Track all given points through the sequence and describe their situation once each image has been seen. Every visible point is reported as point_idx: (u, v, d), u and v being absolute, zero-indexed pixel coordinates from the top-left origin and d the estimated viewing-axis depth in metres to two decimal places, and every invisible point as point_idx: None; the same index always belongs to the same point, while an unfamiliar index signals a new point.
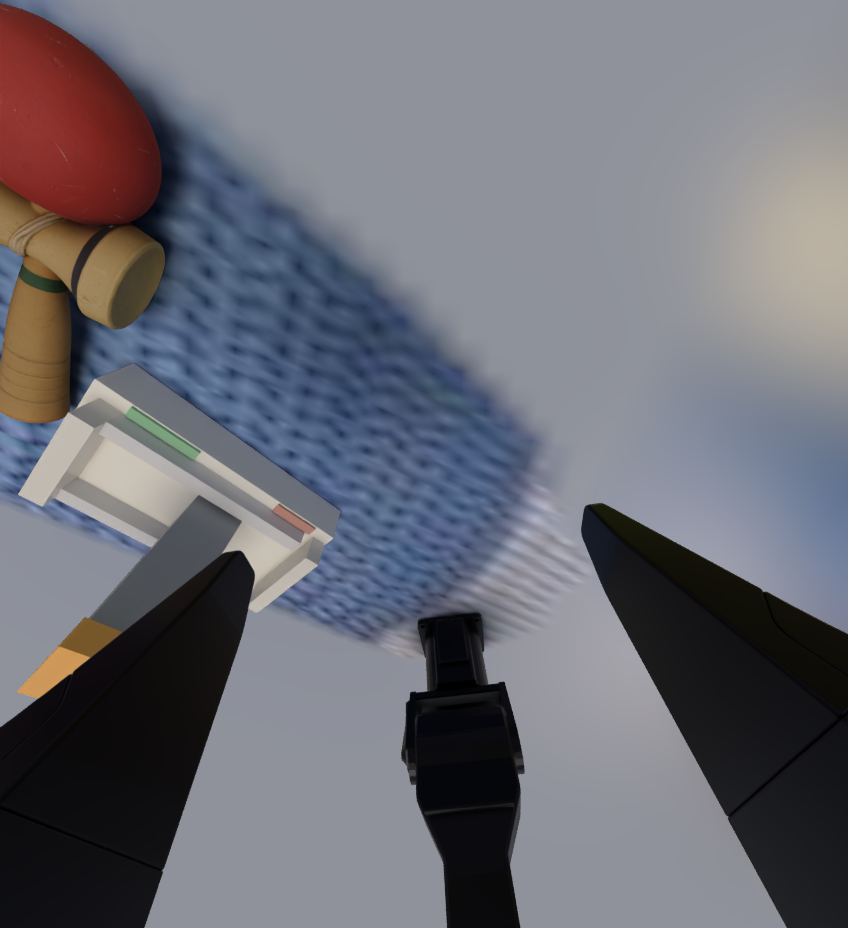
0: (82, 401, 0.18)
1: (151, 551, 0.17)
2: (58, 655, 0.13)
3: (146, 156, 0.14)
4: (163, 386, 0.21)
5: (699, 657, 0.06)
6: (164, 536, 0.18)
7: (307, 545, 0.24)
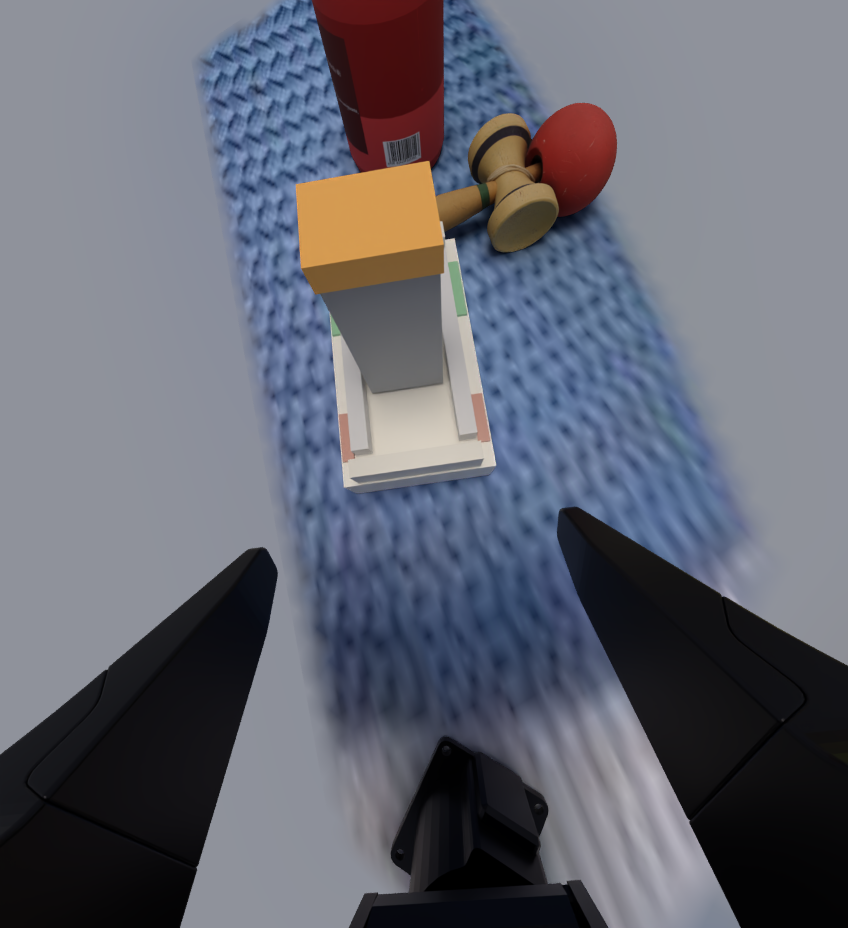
0: None
1: None
2: (410, 168, 0.11)
3: (600, 186, 0.23)
4: None
5: (660, 662, 0.06)
6: None
7: None
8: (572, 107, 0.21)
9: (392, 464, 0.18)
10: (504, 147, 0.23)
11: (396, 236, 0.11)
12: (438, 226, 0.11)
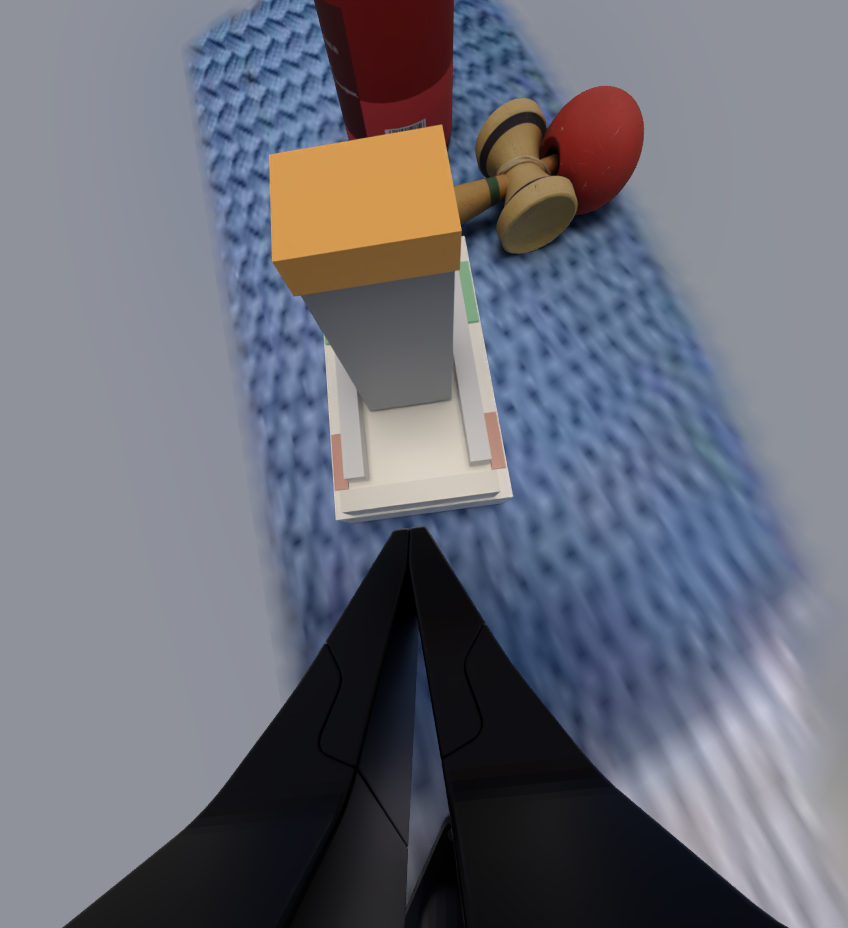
0: None
1: None
2: (417, 134, 0.09)
3: (624, 180, 0.21)
4: None
5: None
6: None
7: None
8: (594, 90, 0.19)
9: (392, 497, 0.15)
10: (517, 136, 0.20)
11: (398, 220, 0.08)
12: (454, 207, 0.08)
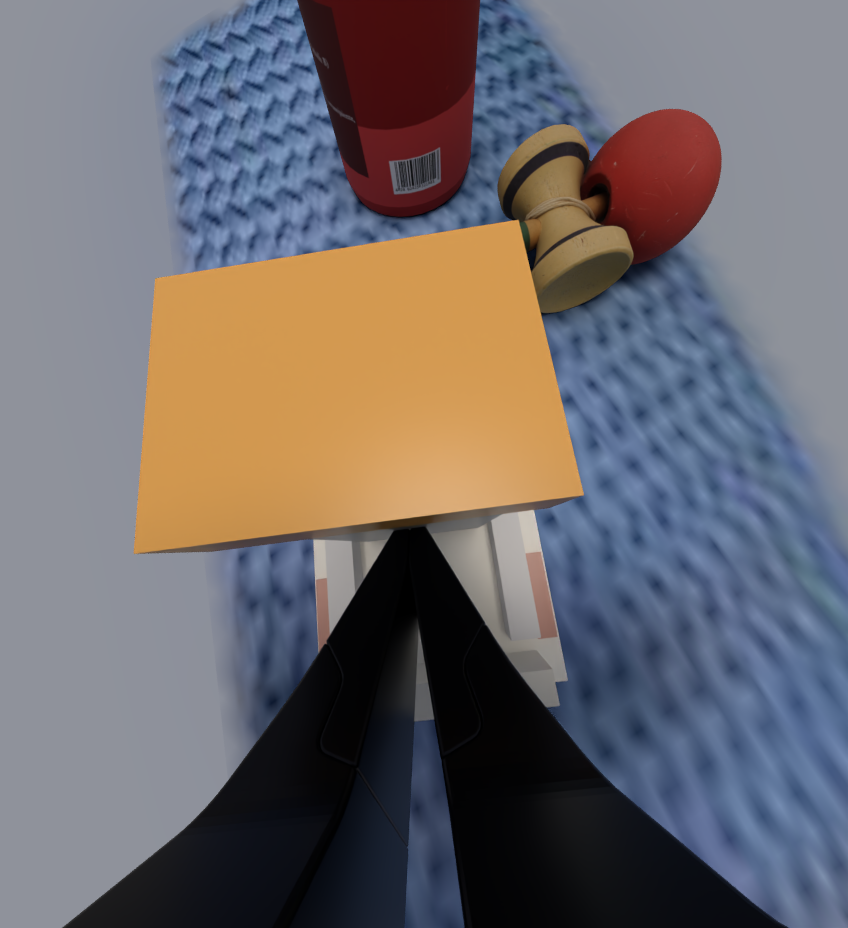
0: None
1: None
2: (466, 241, 0.04)
3: (692, 227, 0.16)
4: None
5: None
6: None
7: (528, 656, 0.12)
8: (660, 115, 0.14)
9: None
10: (554, 172, 0.16)
11: (430, 456, 0.04)
12: (560, 426, 0.04)
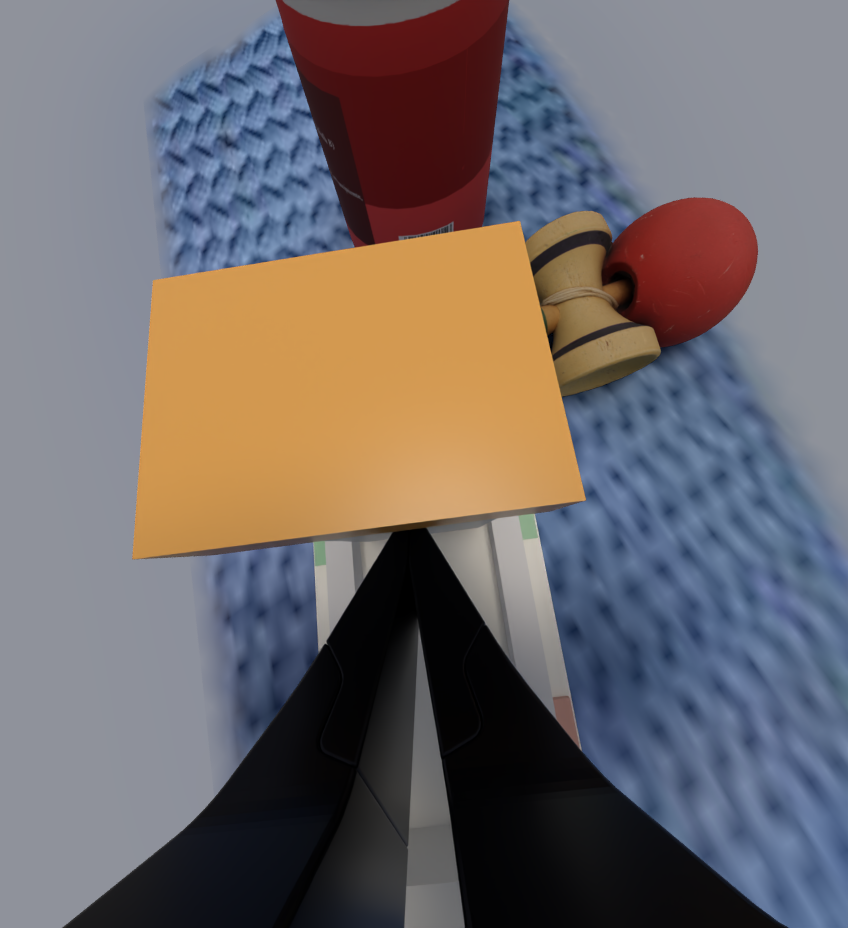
0: None
1: None
2: (468, 242, 0.04)
3: (723, 318, 0.15)
4: None
5: None
6: None
7: None
8: (692, 208, 0.13)
9: (419, 912, 0.09)
10: (574, 261, 0.15)
11: (431, 461, 0.04)
12: (561, 430, 0.04)
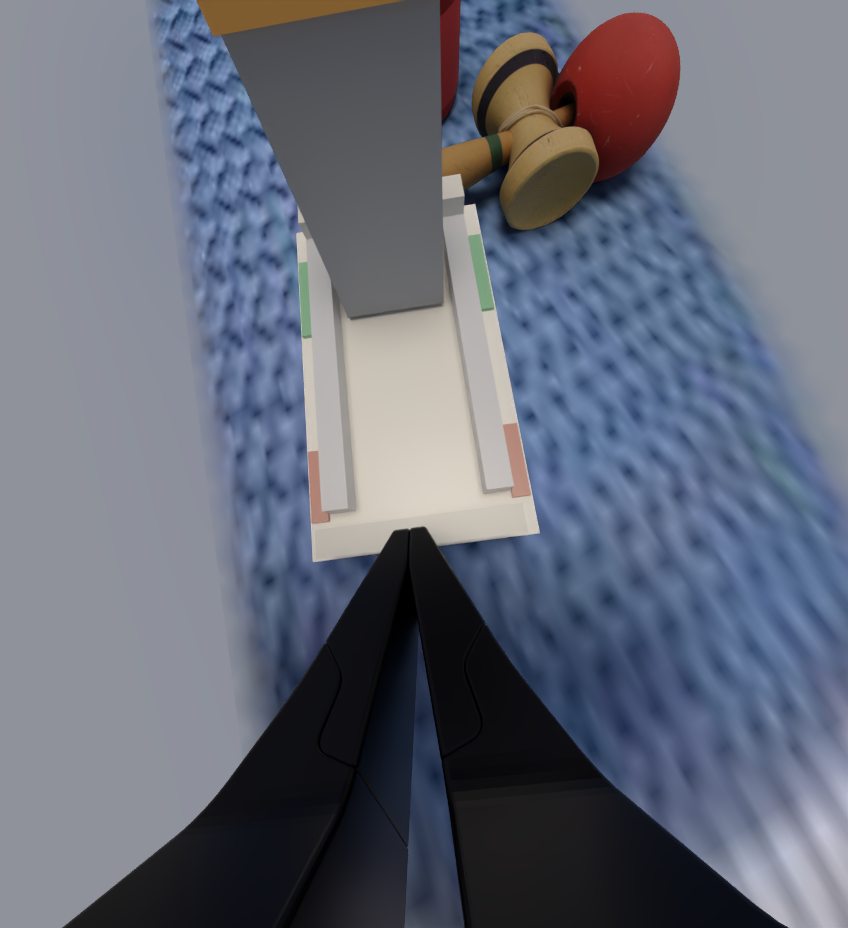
0: None
1: None
2: None
3: (655, 134, 0.17)
4: None
5: None
6: None
7: None
8: (620, 17, 0.15)
9: (383, 539, 0.12)
10: (523, 81, 0.17)
11: None
12: None
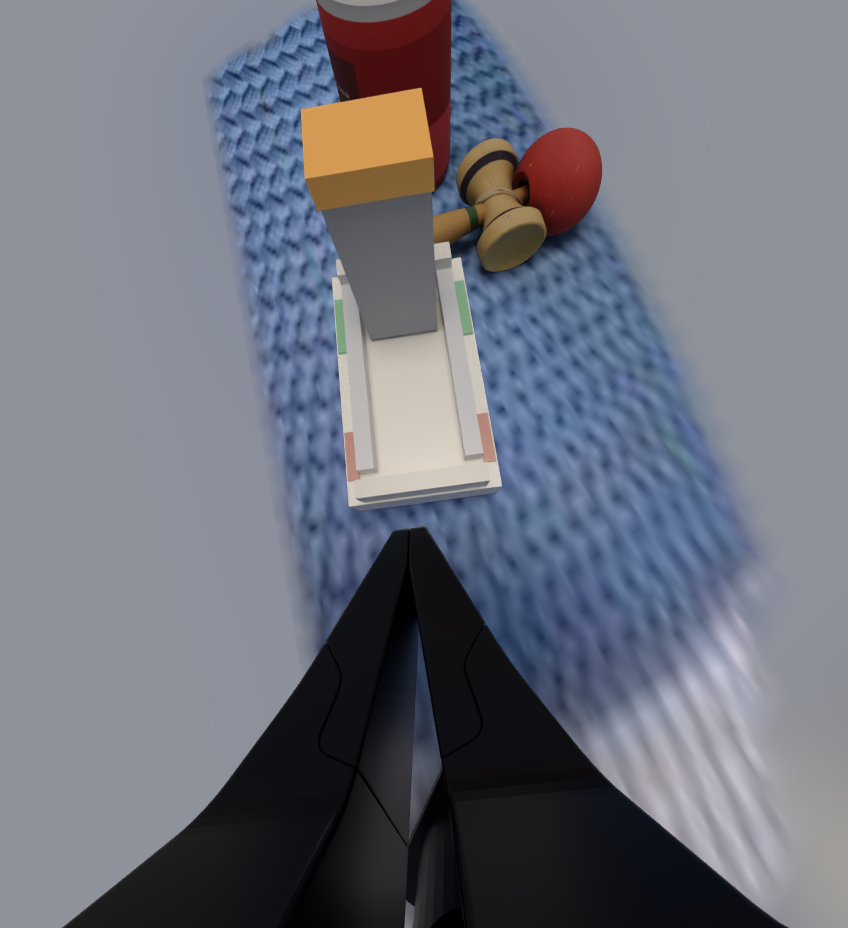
0: None
1: None
2: (404, 94, 0.13)
3: (587, 207, 0.24)
4: None
5: None
6: None
7: None
8: (557, 132, 0.22)
9: (398, 485, 0.18)
10: (491, 171, 0.23)
11: (391, 150, 0.12)
12: (429, 142, 0.12)
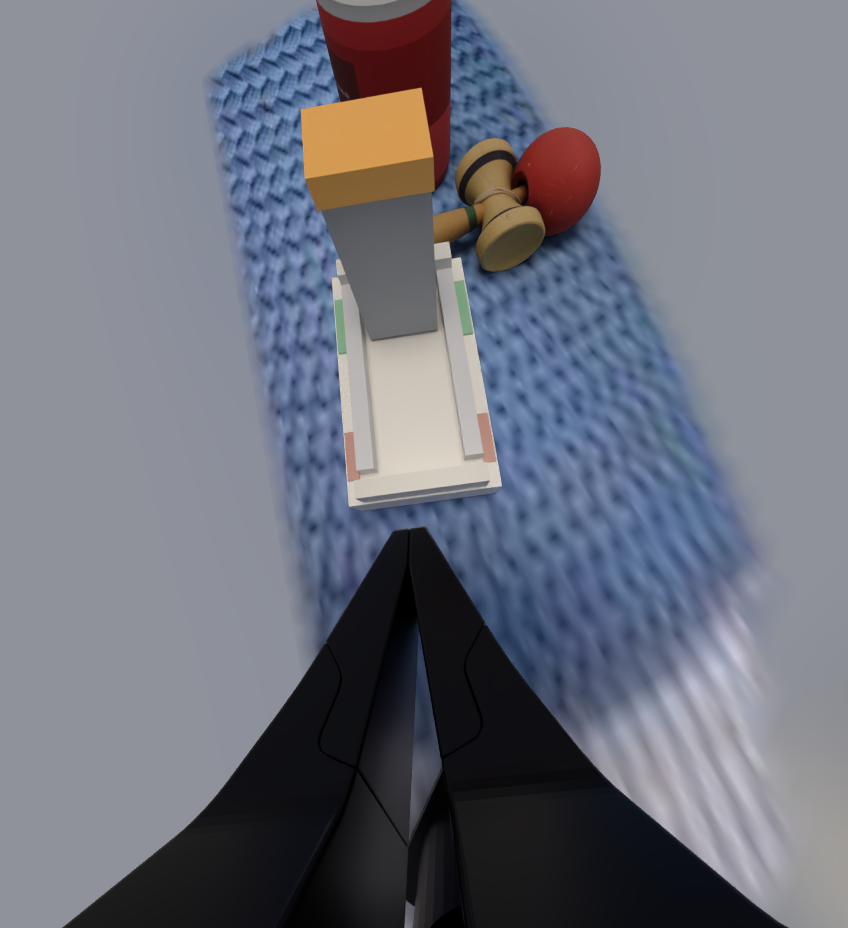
0: None
1: None
2: (404, 94, 0.13)
3: (586, 207, 0.24)
4: None
5: None
6: None
7: None
8: (555, 132, 0.22)
9: (398, 485, 0.18)
10: (490, 171, 0.23)
11: (391, 150, 0.12)
12: (429, 142, 0.12)
